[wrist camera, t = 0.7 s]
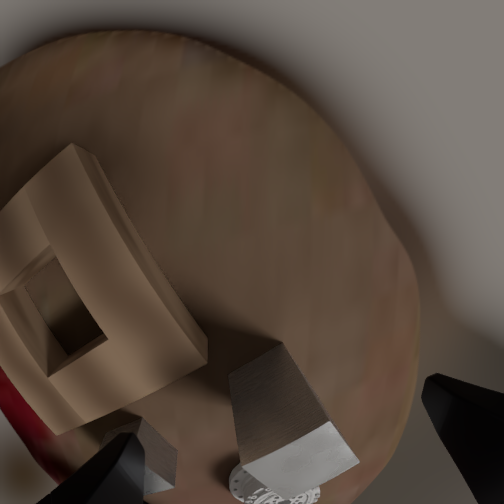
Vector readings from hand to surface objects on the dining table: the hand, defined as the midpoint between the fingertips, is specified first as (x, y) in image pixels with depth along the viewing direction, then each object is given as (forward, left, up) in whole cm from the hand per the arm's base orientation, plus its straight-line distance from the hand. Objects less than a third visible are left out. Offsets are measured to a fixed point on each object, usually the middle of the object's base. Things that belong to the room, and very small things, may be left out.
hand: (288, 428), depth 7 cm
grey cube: (-16, -7, -14) cm, 22 cm away
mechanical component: (-8, -19, -14) cm, 25 cm away
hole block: (-12, +7, -14) cm, 19 cm away
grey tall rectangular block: (-2, -7, -14) cm, 16 cm away
